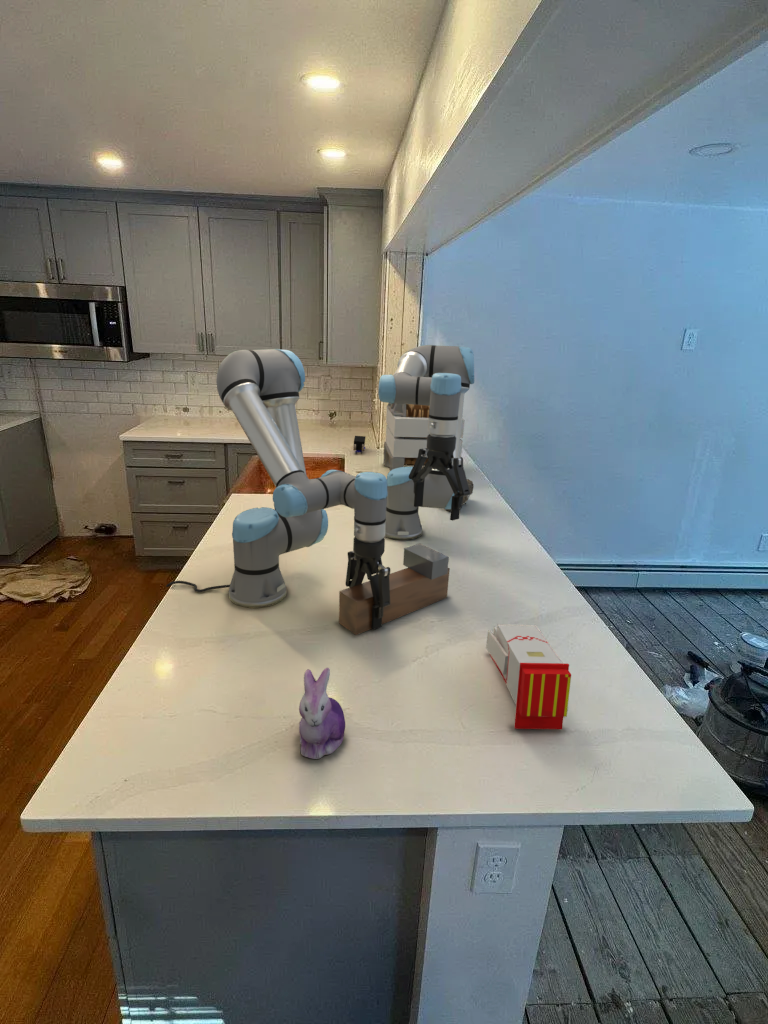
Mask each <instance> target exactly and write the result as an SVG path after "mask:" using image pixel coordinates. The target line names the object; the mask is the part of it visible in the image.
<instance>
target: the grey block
mask: <svg viewBox="0 0 768 1024" xmlns="http://www.w3.org/2000/svg"><path fill="white" fill-rule="evenodd" d="M449 560H450V556H448V555H446V554H444V553H442V552H440V551H439V550H438V551H437V550H435V549H433V548H431V547H429V546H427V545H425V544H423V543H417V544H413V545H410V546H407V547H404V548H403V561H402V565H403V566H404V567H406V568H410V569H412V570H414V571H416V572H418V573H420V574H422V575H424V576H425V577H427V578H429V579H431V580H432V579H435V578H437V577H440V576H443V575H446V574H447V573H448V568H449Z"/></svg>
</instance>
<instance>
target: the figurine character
mask: <svg viewBox="0 0 768 1024" xmlns="http://www.w3.org/2000/svg"><path fill="white" fill-rule="evenodd" d="M366 438H367V437H366V436H365V435H354V438H353V446H352V447H353V448H352V449H353V451H355V454H358V453H360V454H361V455H362V454H363V452H364V451H365V450H366V446H365V444H366Z"/></svg>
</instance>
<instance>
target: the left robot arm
mask: <svg viewBox="0 0 768 1024" xmlns="http://www.w3.org/2000/svg"><path fill="white" fill-rule="evenodd" d="M305 382H306V373H305V368H304V365H303V363H302V361H301V359H300V357H298V355H297V354H295V353H294V352H293V351H291V350H288V349H280V348H269V349H268V348H267V349H264V348H263V349H239V350H235V351H232V352H231V353H229V354H227V355H226V356H225V358H223V360H222V361H221V362H220V364H219V366H218V369H217V372H216V383H215V384H216V390H217V394H218V396H219V399H220V401H221V402H222V404H223V406H224V407H225V408H226V409H227V410H229V411H232V413H233V415H234V416H235V418H236V420H237V422H238V423H239V426H240V427H241V428H242V431H243V432H244V434H245V436H246V437H247V439H248V441H249V443H250V445H251V446H252V448H253V449H254V452H255V453H256V455H257V457H258V458H259V460H260V462H261V464H262V466H263V467H264V469H265V470H266V472H267V474H268V476H269V478H270V480H271V481H272V483H273V485H274V486H275V488H274V490H273V492H272V502H273V507H274V508H272V507H267V506H266V507H265V506H262V507H253V508H248V509H246V510H244V511H241V512H240V513H238V514H237V515H236V516H235V517H234V519H233V522H232V532H231V536H232V545H233V547H232V548H233V563H234V564H233V565H234V566H233V567H234V571H233V574H232V578H231V580H230V583H229V584H223V585H213V586H207V587H205V588H201V589H198V586H197V584H196V583H193V582H189V581H185V580H173V581H170V582H169V583H167V584H166V585H165V587H166V588H169V587H171V586H172V585H176V584H181V585H186V586H190V587H193V589H194V591H195V592H197V593H205V592H208V591H212V590H217V589H226V588H228V598H229V600H230V602H231V603H233V604H234V605H236V606H239V607H243V608H250V609H258V608H259V609H260V608H266V607H271V606H274V605H276V604H278V603H280V602H281V601H283V600H284V599H285V598H286V597H287V583H286V582H285V579H284V576H283V574H282V571H281V568H280V556H281V555H284V554H287V553H291V552H293V551H296V550H300V549H303V548H304V549H305V548H310V547H312V546H313V545H316V544H318V543H320V542H322V541H323V540H324V539H325V536H326V535H327V533H328V531H329V530H328V529H329V516H328V513H327V510H326V509H329V508H333V507H337V506H345V507H347V508H350V509H353V512H354V514H353V515H354V516H353V521H354V523H353V536H354V537H353V540H352V541H353V542H352V544H353V545H352V546H353V547H352V549H353V550H351V551H347V567H346V575H345V583H344V584H345V586H346V587H347V588H350V587H353V586H356V585H359V584H362V583H363V581H364V578H365V577H366V578H367V580H368V581H370V584H371V589H372V594H373V599H374V604H375V605H372V624H371V629H370V630H372V631H374V630H377V629H379V628H382V627H383V624H382V617H383V612H384V607H386V606H388V605H390V583H389V575H390V574H391V567H389V566H384V565H383V561H382V556H383V555H384V553H385V547H386V546H385V545H386V539H385V538H386V537H385V528H386V504H387V495H388V491H387V476H386V475H385V474H383V473H380V472H374V471H363V472H359V473H357V474H356V475H353V474H350V473H347V472H346V471H342V470H338V469H328V470H326V471H325V472H324V473H323V474H321V476H320V477H316V478H309V477H308V475H307V471H306V470H307V469H306V464H305V459H304V452H303V445H302V441H301V434H300V428H299V422H298V415H297V409H296V404H297V402H298V401H299V399H300V392H301V391H303V389H304V388H305Z"/></svg>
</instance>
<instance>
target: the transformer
mask: <svg viewBox="0 0 768 1024" xmlns="http://www.w3.org/2000/svg"><path fill="white" fill-rule="evenodd" d="M429 411H430V406H428V405H414V404H396V403H393V404H391V403H388V404H387V405H386V413H385V414H386V415H385V423H386V428H385V438H384V442H383V466H384V467H388V468H389V472H390V471H391V470H393V469H396V468H400V467H405V466H406V467H413V466H414V464H415V462H416V459H417V457H418V453H419V449H423V448H427V436H428V435H429V434H430V433H429V432H428V422H429ZM464 429H465V419H464V418H462V425H461V436H460V447H459V457H462V453H463V442H464V441H463V440H462V439H463V438H464V431H465V430H464ZM427 461H428V457H427V459H426V461H425V463H426V462H427ZM425 463H424V465H425ZM424 465H423V467H424Z"/></svg>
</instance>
